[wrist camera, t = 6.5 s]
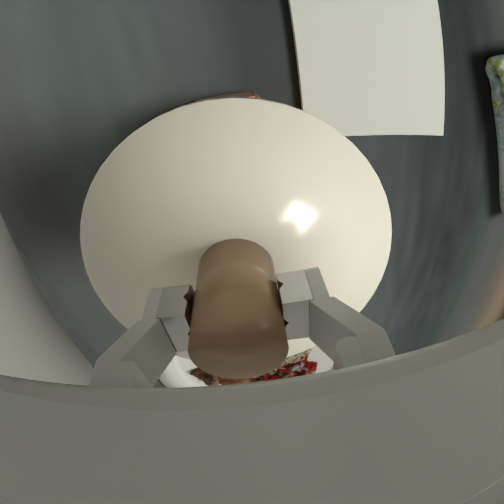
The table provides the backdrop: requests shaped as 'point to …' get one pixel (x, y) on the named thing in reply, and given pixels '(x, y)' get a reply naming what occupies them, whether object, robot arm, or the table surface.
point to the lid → (234, 224)
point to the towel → (498, 112)
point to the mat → (371, 65)
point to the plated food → (299, 364)
